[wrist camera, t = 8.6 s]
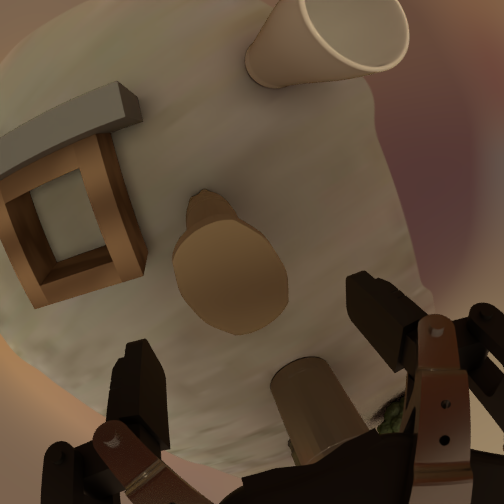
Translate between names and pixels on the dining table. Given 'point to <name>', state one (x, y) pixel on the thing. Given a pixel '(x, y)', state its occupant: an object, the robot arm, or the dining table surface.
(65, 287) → the walnut block
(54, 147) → the slate wall
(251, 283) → the handle
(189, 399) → the dining table surface
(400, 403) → the vegetable
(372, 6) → the drinking glass
